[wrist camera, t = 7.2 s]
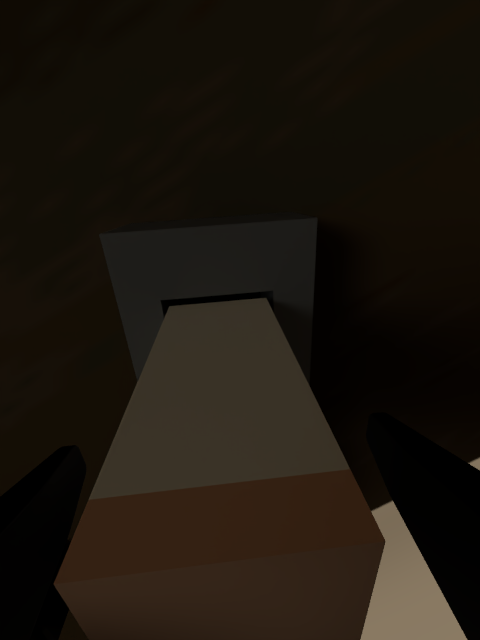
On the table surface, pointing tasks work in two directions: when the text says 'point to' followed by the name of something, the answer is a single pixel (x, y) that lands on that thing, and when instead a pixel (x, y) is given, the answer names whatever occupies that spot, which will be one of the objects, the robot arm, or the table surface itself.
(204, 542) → the brown rectangular block
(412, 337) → the table surface
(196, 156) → the table surface
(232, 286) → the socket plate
